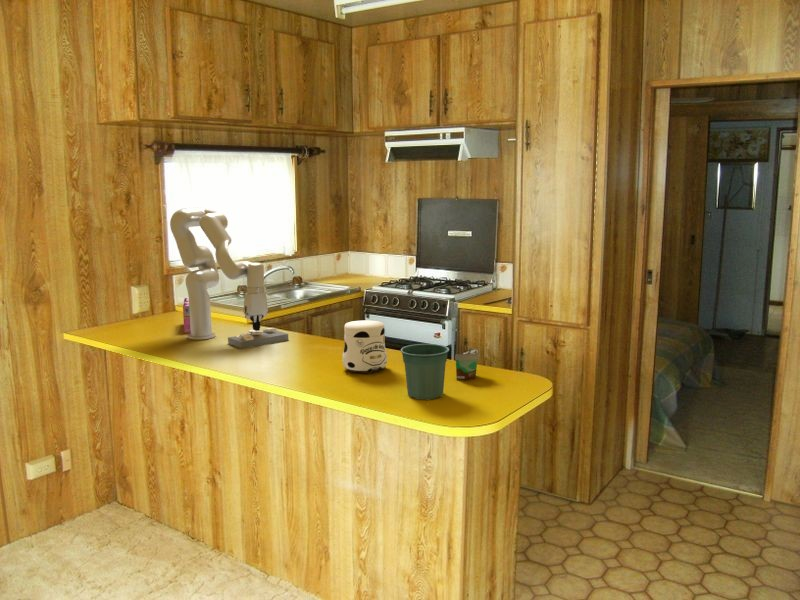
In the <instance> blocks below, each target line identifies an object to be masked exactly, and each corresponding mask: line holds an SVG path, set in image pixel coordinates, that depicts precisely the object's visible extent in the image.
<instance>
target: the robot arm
mask: <svg viewBox="0 0 800 600" xmlns="http://www.w3.org/2000/svg"><path fill="white" fill-rule="evenodd" d="M228 224H229V221H228V219H227V217H226V215H225V214H223V213H222V212H220V211H216V210H210V209H206V208H204V207H191V208H190V207H189V208H181V209H179V210H176V211H175V212H174V213H173V214H172V215H171V217H170V222H169V226H170V231H171V233H172V235H173V238H174V240H175V244H176V246H177V250H178V253H179V256H180V260H181V261H182V264H183V266H184V267H186V268H187V269H194V268H198V269H196V270H192V271H190V272H189V273H188V274H187V275H186V277H185V286H186V291H187V294H188V295H187V297H188V299H189V310H190V326H191V328H190V330H191V333H188V334H187V339H189V340H192V341H195V340H196V341H199V340H200V341H201V340H203V341H204V340H209V339H213V338H216V333H215V332H213V327H212V310H211V298H210V294H209V292H208V290H207V289H211V288H215V287H216V286H218V284H219V282H220V274H219V270H218V267H219V268H220V271H221V272H222V273H223V274H224V275H225V276H226V277H227V278H228V279H229V280H232V281H234V280H239V279H243V278H244V279H245V278H246V293H245V294H244V301H243V314H244V315H245V316H244V318H245V319H247V320H250V321H251V323H252V330H255V331H261V322H262V319H264V318H265V317H267V316H268V310H269V309H268V299H267V294H266V292H265V290H267V286H265V276H264V275H265V273H264V272H265V270H264V269H265V267H264V264H263V263H261V262H258V261H257V262H254V261H253V262H252V261H247V260H240V261H234V260H233V258H232V257H231V256H230V253H229V246H230V244H231V243H232V238H231V236H230V235H229V233H228V231H227V230H226V229H227V227H228ZM193 227H200V229H201V230H202V231H203V233H204V234H205V236H206V237H207V239H208V240H209V242H210V243H211V245H212V246H213V247H214V251H215V253H214V254H215V257H214V255H213V252H212V251H211V250H210V248H209V247H207V246H205V245H198V243H197V242H196V237H195V236H194V234H193V233H192V231H191V230H190V229H189V228H193ZM217 265H218V267H217Z"/></svg>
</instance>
